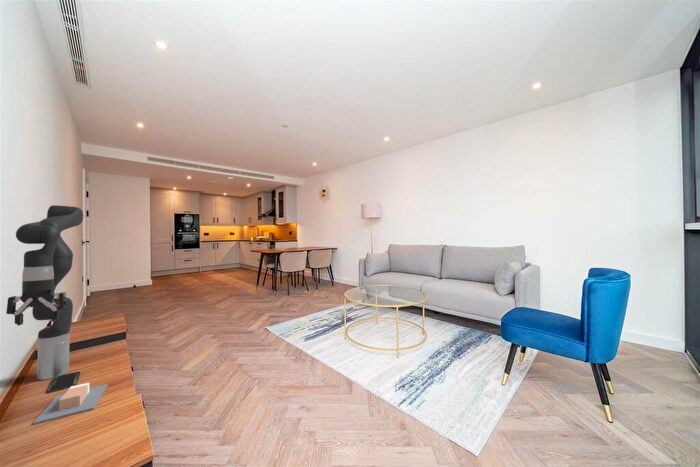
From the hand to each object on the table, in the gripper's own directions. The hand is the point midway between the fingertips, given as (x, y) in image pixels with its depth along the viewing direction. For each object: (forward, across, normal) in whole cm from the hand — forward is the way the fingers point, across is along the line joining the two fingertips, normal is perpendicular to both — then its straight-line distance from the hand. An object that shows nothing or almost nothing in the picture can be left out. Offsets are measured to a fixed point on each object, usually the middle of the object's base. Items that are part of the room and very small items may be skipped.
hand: (37, 322), depth 97 cm
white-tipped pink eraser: (+27, +13, -10) cm, 32 cm away
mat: (+28, +13, -10) cm, 32 cm away
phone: (+29, +4, +12) cm, 31 cm away
